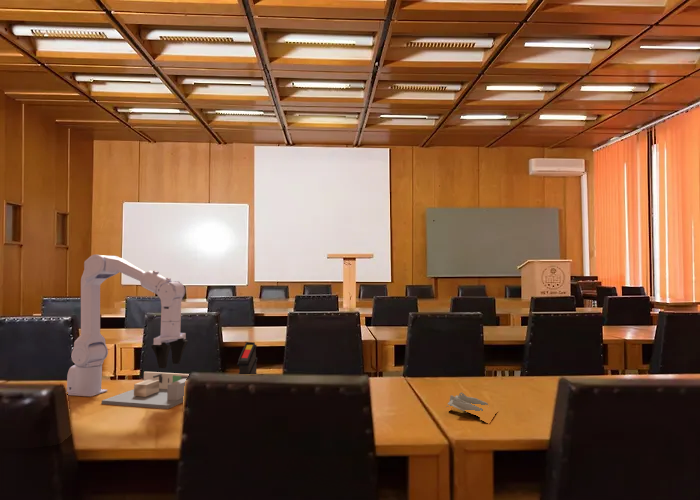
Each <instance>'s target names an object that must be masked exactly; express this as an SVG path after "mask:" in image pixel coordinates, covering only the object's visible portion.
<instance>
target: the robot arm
mask: <svg viewBox="0 0 700 500" xmlns="http://www.w3.org/2000/svg"><path fill="white" fill-rule="evenodd" d="M83 268H84V270H83V271H82V272H83V273H82V275H81V278H80V335H79V336H78V337H77V338H76V339H75V340H74V342H73V348H72V351H71V357H70V358H71V361H72V362H73V363H74V365H72V366H70V367H69V369H68V372H67V375H66V378H67V379H66V393H67V392H68V395H67V396H77V397H78V396H79V397H94V396H96V395H99V394H103V393H106V392H108V389H102V383H103V382H102V379H103V376H102V375H103V364H104V360H105V359H107V357H108V353H109V350H108V346H107V344H106V338H105V337H104V336H103V334H101V285H102V283H104V282H105V281H106V280H107V279H109V278H112V277H114V276H116V275H117V274H119V273H121V274H122V275H125V276H127V277H129V278H132V279H133V280H136V281H139V282H140V286H141V287H142V288H143V289H146V290H147V291H150V292H151V293H153V294H156V295H157V296H158V298H159V300H160V306H161V309H160V310H161V311H160V312H161V313H160V314H161V315H160V335H158V336H156V337H153V343H151V348H150V349H152V350H153V353H154V355H155V357H156V361H157V367H158V368H159V369H166V368H167V366H168V358H169V353H170V351H171V361H172V364H175V365H180V363H181V360H182V357H183V353H184V350H185V348H186V347H187V345H188V342H189V340H187V337H186V334H187V333H186V332H181V324H182V323H181V321H182V319H181V318H182V299H183V298H184V296H185V294H186V287H185V286H184V284H182V282H181V281H179V280H178V281H172V278H170V277H165V276H163V275H161V274H160V272H159V271H158V270H148V271H145V270H143V269H142V268H139V267H137V266H136V265H134V264H133V263H132V262H129V261H127V260H126V259H125V258H123V257H119V256H118V255H102V254H91V255H90V256H89V257H88V258H87V259H85V260H84V263H83ZM167 343H169V344H167Z"/></svg>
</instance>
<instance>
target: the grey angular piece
mask: <svg viewBox="0 0 700 500" xmlns="http://www.w3.org/2000/svg"><path fill="white" fill-rule="evenodd" d="M471 403H472V404H481V405H488V406H489V403H488V402H486V401H483V400H481V399H478V398H476V397H472V396H471V397H470V396H467V395H466V394H464V393H463V392H460V393H459V394H458V395H455V396H454V395H453V394H451V395H450V396H449V402H448V403H447V406H449V405H450V406H453V407H452V408H455V409H458V410H460V411H463V412H464V411H465V410H475V411H480V410H481V411H483V409H482V408H479V407H477V406H475V405H472V404H471Z"/></svg>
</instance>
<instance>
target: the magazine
mask: <svg viewBox="0 0 700 500" xmlns="http://www.w3.org/2000/svg"><path fill="white" fill-rule="evenodd" d="M243 346H244V347H243V348H242V351H241V353H240V355H239V358H238V362H237V363H236V366H237V367H238V369H239V372H238V374H257V362H258V357H257V352H256V349H257V347H258V345H257V344H256V343H255V342H254V341H253V342H252V341H247V342H245V344H244V345H243Z"/></svg>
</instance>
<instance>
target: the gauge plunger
mask: <svg viewBox="0 0 700 500" xmlns="http://www.w3.org/2000/svg"><path fill="white" fill-rule="evenodd" d="M161 376H162V374H158V375H155V376H153V378H156V377H159V380H145V381H144V380H142V381H140V382H136V383H134V384H133V389H134V396H142V397H146V396H149V395H152V394H154V393H157V392H159V383H161Z"/></svg>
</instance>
